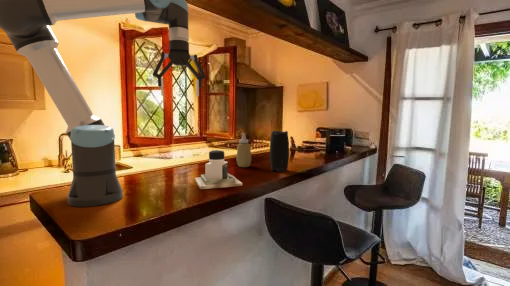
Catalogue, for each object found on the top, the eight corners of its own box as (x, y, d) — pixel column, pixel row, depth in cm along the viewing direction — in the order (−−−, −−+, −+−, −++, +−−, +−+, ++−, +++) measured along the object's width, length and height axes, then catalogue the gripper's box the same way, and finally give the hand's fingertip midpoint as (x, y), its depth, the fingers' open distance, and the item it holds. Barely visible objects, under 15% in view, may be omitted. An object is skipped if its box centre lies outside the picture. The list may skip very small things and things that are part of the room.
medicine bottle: (222, 182, 106) (222, 151, 105) (205, 181, 108) (204, 151, 107) (228, 178, 113) (227, 149, 112) (211, 178, 115) (211, 149, 114)
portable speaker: (270, 168, 141) (271, 130, 139) (289, 169, 139) (289, 130, 138) (268, 172, 133) (269, 131, 131) (288, 172, 131) (288, 131, 129)
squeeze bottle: (248, 168, 143) (248, 133, 141) (234, 167, 145) (233, 133, 144) (253, 165, 150) (253, 132, 149) (239, 164, 153) (239, 132, 151)
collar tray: (200, 189, 101) (200, 182, 100) (194, 180, 116) (194, 174, 115) (242, 185, 106) (242, 179, 106) (231, 177, 121) (231, 171, 121)
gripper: (208, 46, 116) (209, 97, 118) (145, 40, 108) (147, 95, 110) (212, 41, 109) (213, 95, 111) (144, 35, 101) (146, 94, 103)
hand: (180, 95), depth 111 cm, fingers open, 13 cm apart
